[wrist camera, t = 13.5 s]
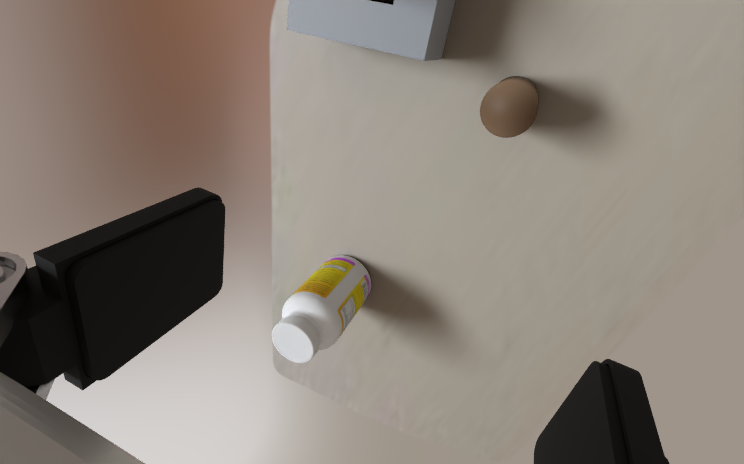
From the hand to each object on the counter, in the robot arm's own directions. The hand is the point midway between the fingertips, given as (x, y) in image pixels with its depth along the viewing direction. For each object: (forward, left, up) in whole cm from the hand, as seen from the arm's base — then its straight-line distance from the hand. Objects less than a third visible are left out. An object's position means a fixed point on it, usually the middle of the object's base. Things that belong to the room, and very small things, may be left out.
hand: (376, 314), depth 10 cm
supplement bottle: (+22, -11, -30) cm, 39 cm away
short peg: (-2, +1, -30) cm, 30 cm away
